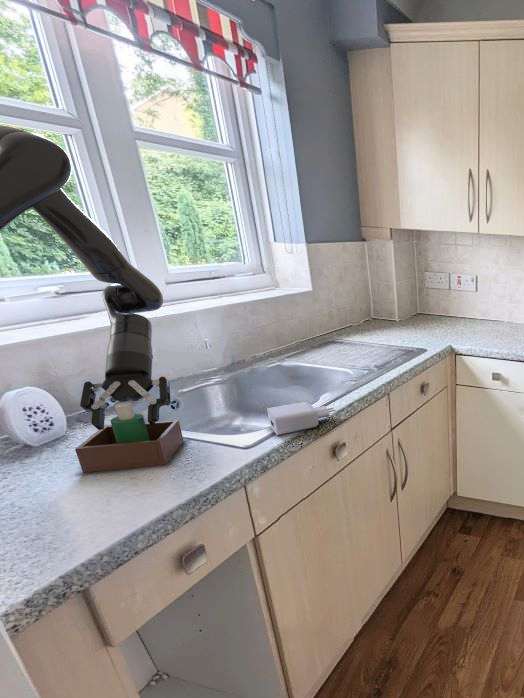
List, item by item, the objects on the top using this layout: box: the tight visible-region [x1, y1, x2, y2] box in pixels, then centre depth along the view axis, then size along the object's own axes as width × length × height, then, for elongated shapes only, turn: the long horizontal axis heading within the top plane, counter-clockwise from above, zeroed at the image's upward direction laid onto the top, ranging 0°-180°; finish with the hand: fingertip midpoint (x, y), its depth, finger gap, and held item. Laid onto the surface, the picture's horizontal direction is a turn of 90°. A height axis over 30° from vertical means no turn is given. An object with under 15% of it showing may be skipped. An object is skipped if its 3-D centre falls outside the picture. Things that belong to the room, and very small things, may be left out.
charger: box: [266, 401, 336, 436], centre depth 116 cm, size 5×9×15 cm
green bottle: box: [109, 402, 150, 444], centre depth 95 cm, size 5×5×11 cm
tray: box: [74, 419, 185, 474], centre depth 96 cm, size 14×12×5 cm
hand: (125, 425), depth 94 cm, fingers open, 8 cm apart
